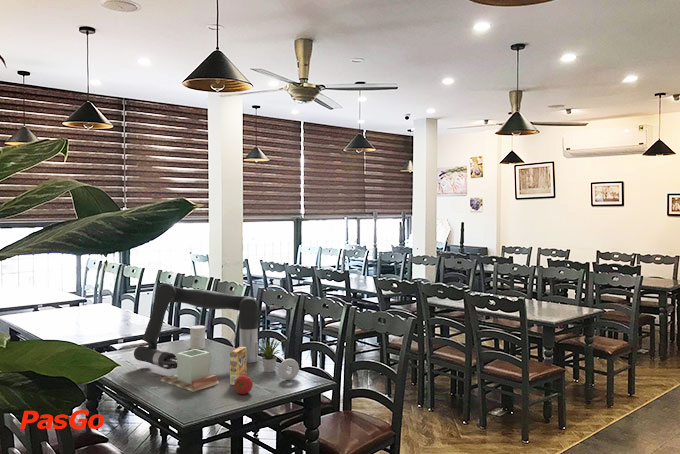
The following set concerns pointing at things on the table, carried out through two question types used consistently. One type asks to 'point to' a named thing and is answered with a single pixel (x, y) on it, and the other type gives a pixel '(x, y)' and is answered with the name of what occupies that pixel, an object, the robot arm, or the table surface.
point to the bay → (195, 385)
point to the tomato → (243, 384)
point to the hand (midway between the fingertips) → (186, 366)
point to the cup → (197, 337)
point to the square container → (192, 365)
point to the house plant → (269, 355)
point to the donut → (293, 372)
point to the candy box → (237, 364)
